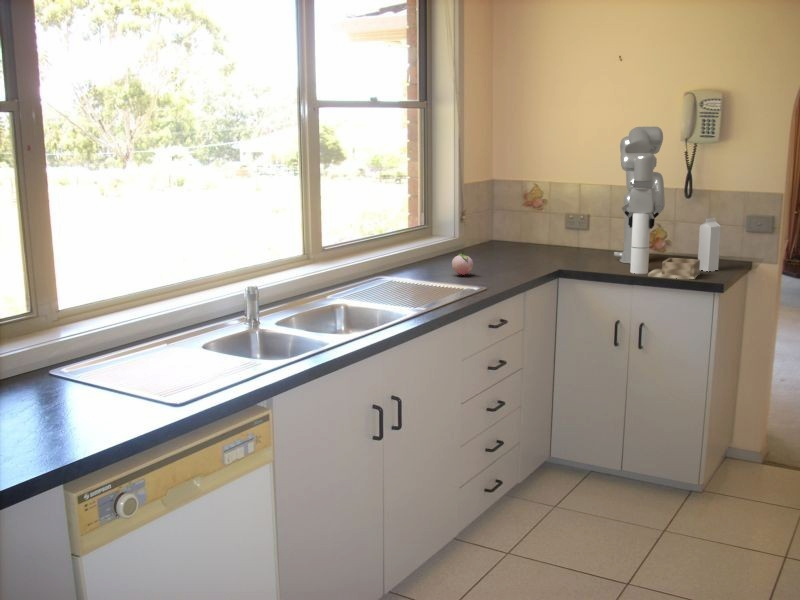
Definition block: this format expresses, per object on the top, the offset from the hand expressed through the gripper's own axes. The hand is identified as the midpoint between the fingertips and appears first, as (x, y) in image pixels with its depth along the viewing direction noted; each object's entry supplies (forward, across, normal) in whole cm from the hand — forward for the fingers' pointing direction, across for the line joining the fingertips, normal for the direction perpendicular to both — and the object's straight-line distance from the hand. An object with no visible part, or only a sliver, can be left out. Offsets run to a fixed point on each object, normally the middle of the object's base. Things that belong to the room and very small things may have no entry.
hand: (641, 227), depth 355 cm
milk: (+19, +24, +17) cm, 35 cm away
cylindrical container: (+19, 0, 0) cm, 19 cm away
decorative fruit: (+19, -64, -39) cm, 77 cm away
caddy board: (+19, +14, -1) cm, 24 cm away
